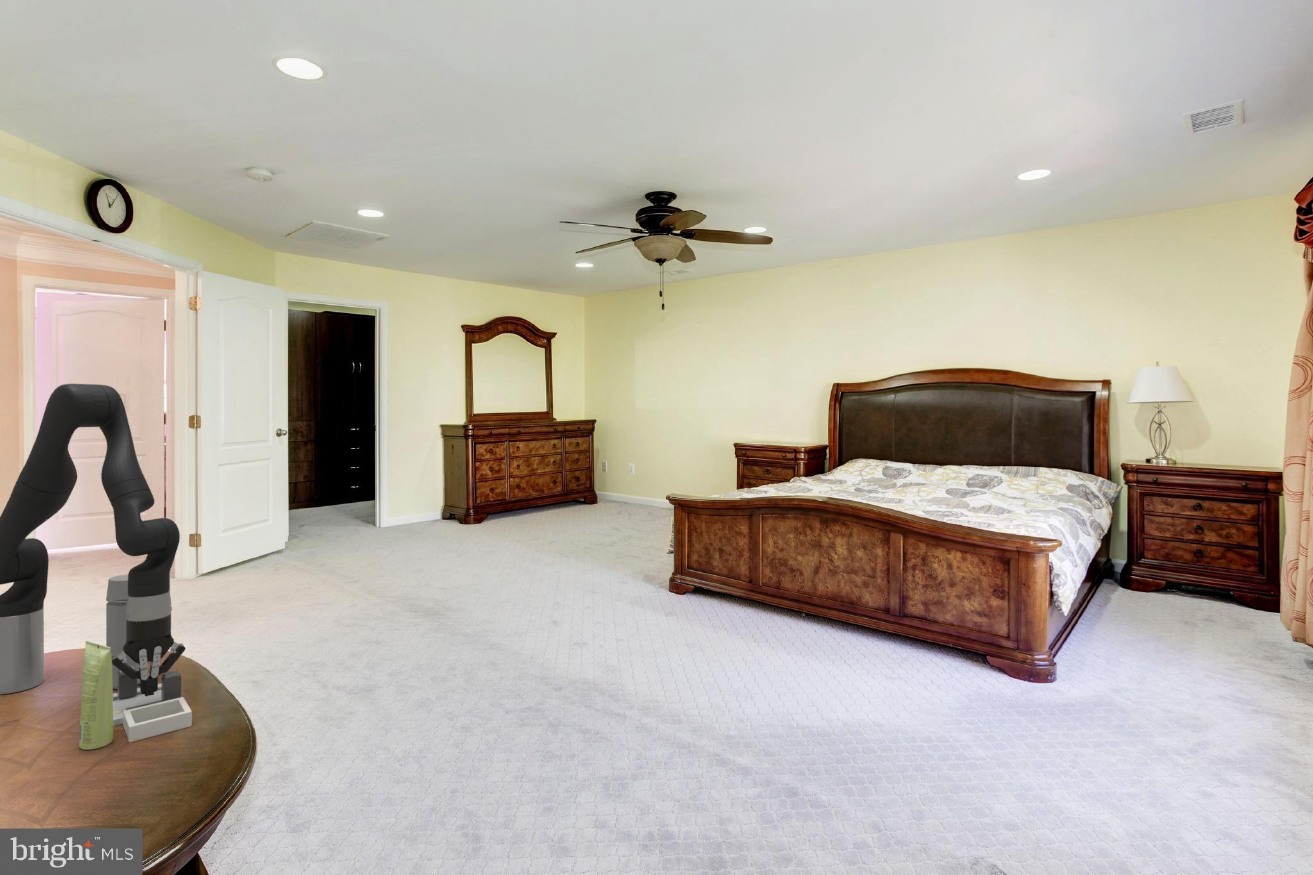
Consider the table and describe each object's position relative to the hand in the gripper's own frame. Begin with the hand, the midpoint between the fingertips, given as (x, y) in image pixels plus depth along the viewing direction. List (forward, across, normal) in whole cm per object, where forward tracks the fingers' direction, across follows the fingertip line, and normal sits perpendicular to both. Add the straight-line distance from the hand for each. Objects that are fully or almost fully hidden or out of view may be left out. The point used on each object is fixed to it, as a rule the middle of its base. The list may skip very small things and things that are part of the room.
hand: (148, 694), depth 139 cm
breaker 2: (+2, -4, 0) cm, 4 cm away
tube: (+4, +9, +10) cm, 14 cm away
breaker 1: (+2, +3, -8) cm, 9 cm away
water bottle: (+4, +1, -19) cm, 19 cm away
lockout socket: (+4, 0, +9) cm, 10 cm away
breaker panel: (+4, 0, -4) cm, 5 cm away
